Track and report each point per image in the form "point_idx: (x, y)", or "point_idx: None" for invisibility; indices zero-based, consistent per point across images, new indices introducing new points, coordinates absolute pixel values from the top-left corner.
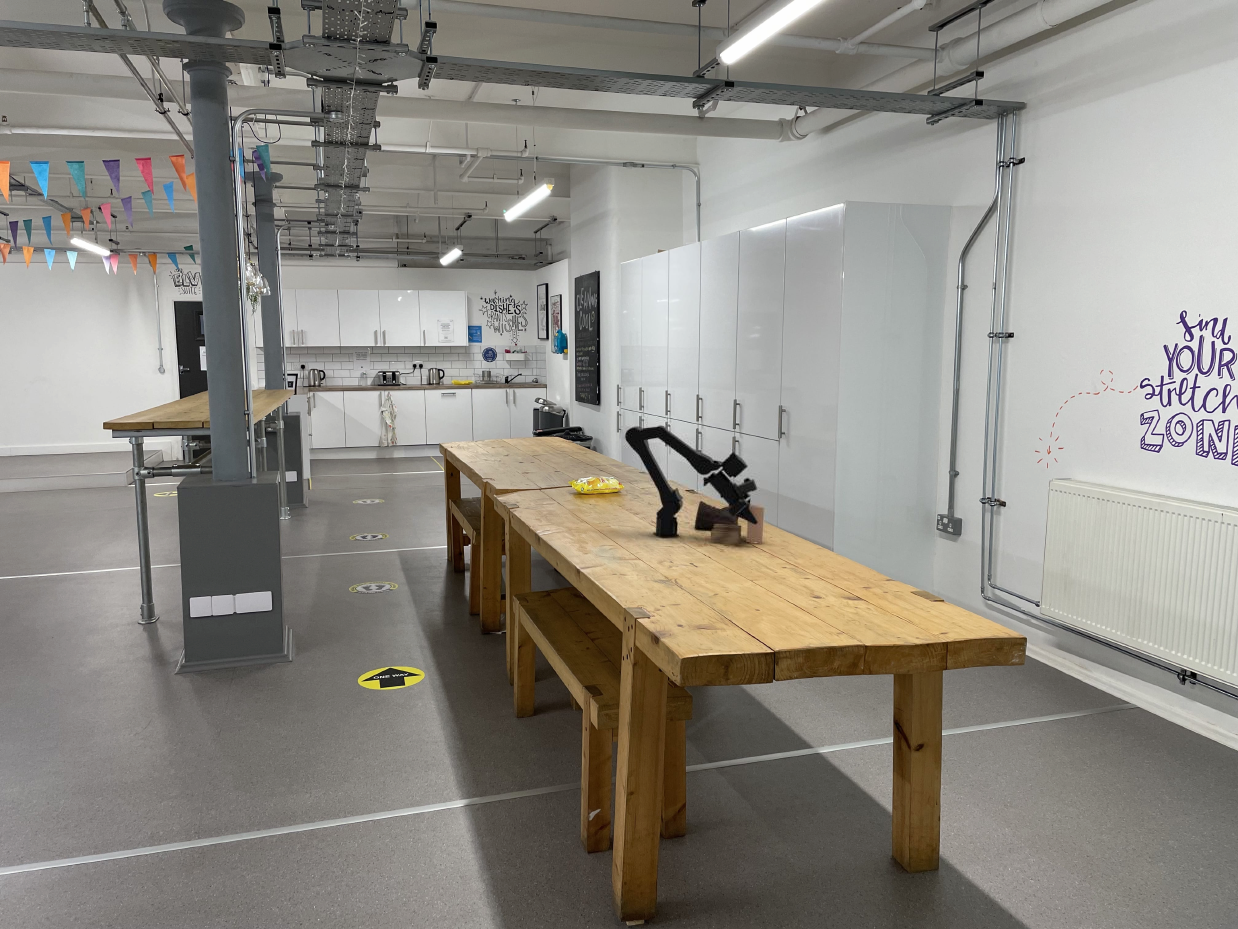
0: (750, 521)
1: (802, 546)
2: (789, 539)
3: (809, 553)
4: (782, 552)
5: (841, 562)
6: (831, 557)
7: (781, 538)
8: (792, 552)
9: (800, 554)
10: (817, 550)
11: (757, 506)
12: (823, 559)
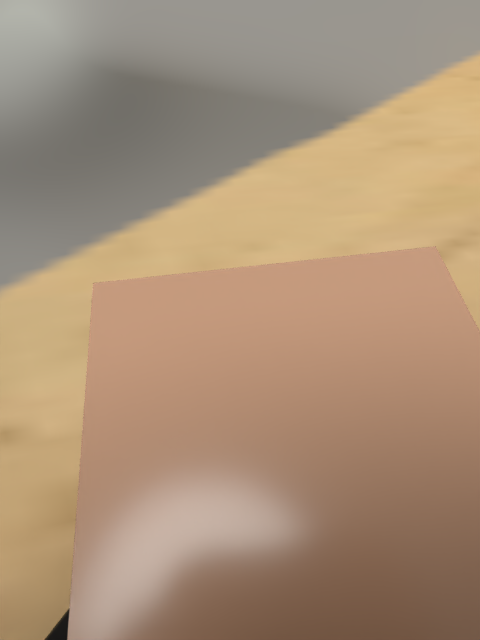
0: None
1: (237, 219)
2: (53, 303)
3: (390, 177)
4: (475, 287)
5: (465, 82)
6: (403, 109)
7: (31, 354)
8: (430, 242)
9: (446, 206)
10: (296, 158)
11: (380, 440)
12: (468, 127)
